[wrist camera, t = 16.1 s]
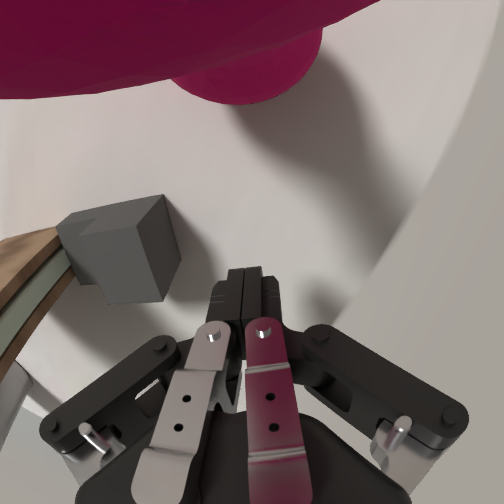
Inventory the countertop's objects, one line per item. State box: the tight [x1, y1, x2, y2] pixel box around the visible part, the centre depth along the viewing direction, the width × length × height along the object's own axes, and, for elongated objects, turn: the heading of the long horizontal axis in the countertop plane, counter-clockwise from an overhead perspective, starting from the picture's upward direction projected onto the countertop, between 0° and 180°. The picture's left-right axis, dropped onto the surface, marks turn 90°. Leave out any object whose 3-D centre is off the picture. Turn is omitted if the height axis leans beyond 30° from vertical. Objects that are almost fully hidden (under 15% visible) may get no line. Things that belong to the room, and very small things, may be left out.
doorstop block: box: [55, 194, 181, 305], centre depth 18 cm, size 8×5×5 cm, turn 98°
